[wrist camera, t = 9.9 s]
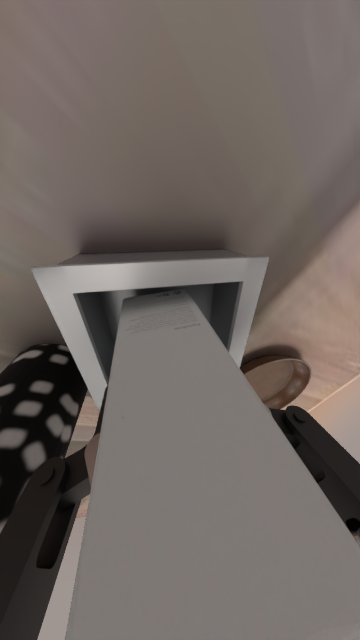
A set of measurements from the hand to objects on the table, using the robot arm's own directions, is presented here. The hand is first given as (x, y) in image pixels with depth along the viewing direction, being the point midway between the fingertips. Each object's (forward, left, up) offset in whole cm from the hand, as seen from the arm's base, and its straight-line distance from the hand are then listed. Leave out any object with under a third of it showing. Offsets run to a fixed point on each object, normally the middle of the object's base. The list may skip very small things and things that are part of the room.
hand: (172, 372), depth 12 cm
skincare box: (0, 0, -6) cm, 6 cm away
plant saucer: (-17, +17, -9) cm, 26 cm away
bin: (0, 0, -9) cm, 9 cm away
